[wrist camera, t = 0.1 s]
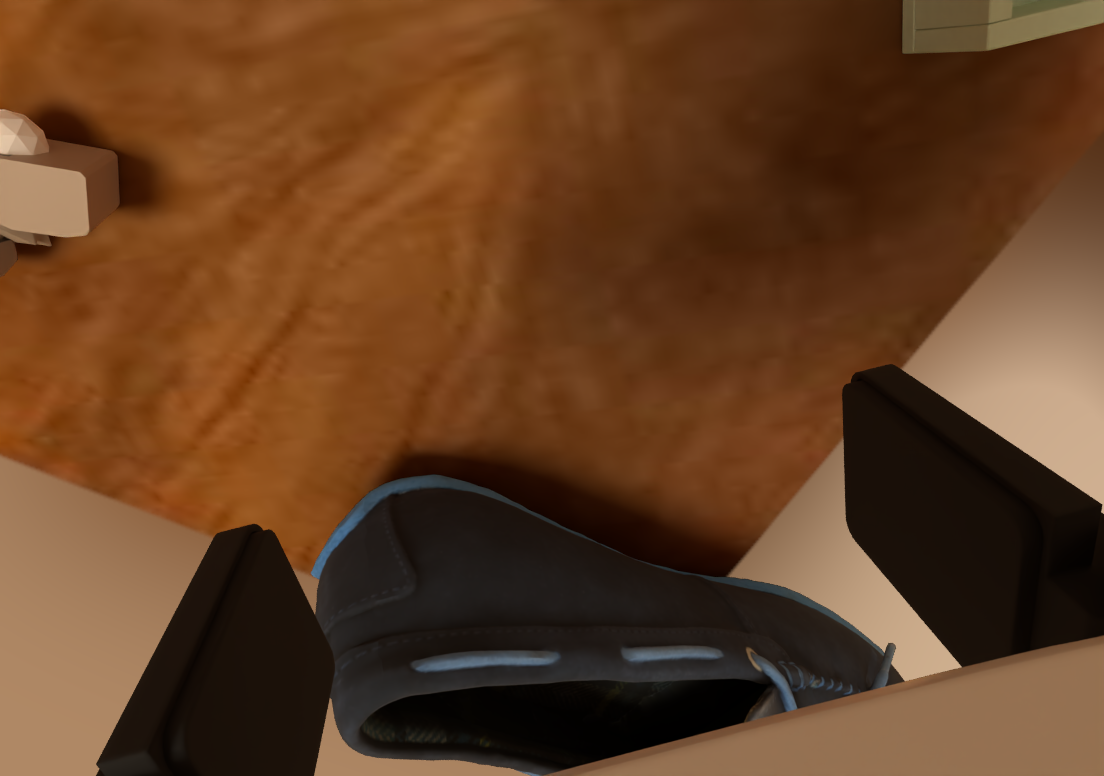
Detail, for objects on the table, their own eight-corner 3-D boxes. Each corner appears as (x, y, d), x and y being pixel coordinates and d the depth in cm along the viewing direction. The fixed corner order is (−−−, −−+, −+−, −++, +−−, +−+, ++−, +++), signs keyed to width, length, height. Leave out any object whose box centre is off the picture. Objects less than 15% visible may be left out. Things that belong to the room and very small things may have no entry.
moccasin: (793, 761, 46) (902, 976, 35) (259, 660, 33) (190, 941, 23) (927, 613, 41) (1100, 811, 30) (361, 431, 29) (330, 659, 18)
